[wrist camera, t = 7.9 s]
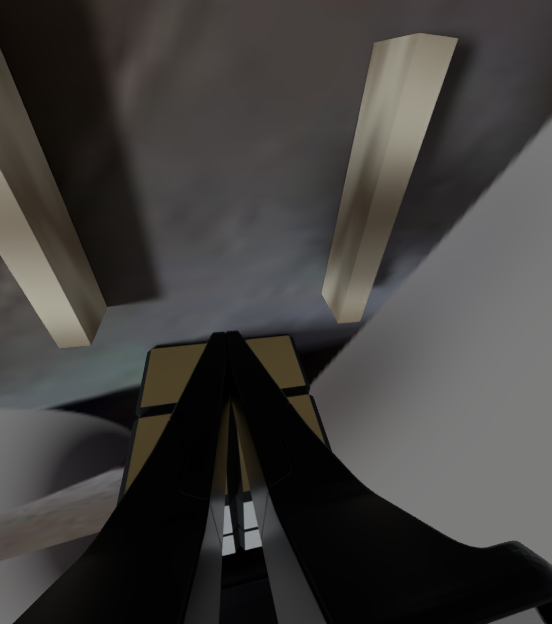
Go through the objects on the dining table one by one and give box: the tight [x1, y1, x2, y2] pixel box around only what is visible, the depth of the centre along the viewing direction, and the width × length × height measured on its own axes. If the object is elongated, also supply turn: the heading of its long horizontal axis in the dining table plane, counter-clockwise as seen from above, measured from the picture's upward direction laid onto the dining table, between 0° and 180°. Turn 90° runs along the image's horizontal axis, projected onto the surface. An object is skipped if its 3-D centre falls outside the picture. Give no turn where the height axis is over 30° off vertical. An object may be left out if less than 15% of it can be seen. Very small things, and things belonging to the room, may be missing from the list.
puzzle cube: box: [117, 335, 332, 556], centre depth 19 cm, size 10×10×10 cm
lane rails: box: [0, 33, 458, 348], centre depth 12 cm, size 12×16×3 cm
